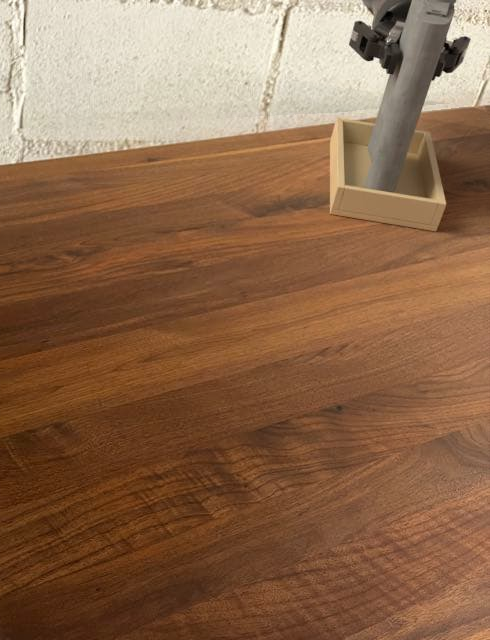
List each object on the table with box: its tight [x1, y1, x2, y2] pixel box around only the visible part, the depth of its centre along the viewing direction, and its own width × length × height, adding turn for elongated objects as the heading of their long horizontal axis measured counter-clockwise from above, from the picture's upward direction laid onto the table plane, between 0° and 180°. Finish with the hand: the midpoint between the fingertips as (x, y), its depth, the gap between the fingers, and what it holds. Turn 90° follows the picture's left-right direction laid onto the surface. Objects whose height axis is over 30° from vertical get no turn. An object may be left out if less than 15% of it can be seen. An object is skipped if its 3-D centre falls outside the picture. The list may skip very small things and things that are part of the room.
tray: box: [329, 117, 447, 232], centre depth 103 cm, size 12×22×3 cm, turn 169°
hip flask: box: [364, 0, 457, 193], centre depth 97 cm, size 16×4×20 cm, turn 165°
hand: (413, 67), depth 97 cm, fingers closed on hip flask, 4 cm apart
